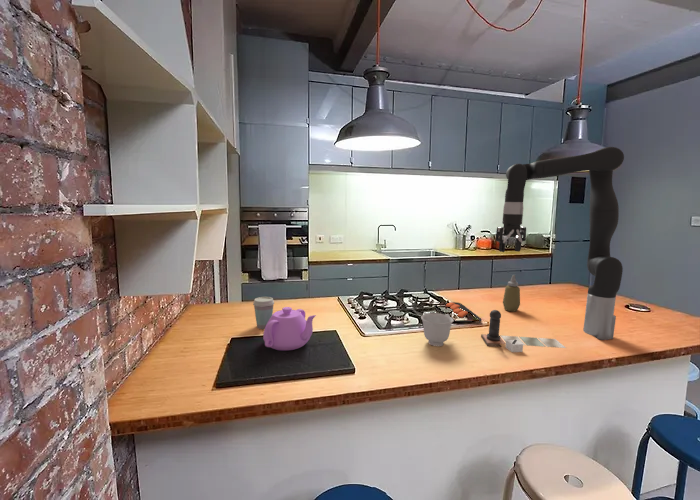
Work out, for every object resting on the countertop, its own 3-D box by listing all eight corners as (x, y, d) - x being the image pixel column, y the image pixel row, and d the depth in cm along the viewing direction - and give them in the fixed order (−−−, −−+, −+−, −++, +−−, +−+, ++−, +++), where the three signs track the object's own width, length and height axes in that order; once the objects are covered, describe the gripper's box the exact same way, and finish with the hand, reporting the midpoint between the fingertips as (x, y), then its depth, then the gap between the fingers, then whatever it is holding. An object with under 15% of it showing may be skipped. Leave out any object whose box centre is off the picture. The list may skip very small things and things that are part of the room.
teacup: (461, 341, 132) (463, 316, 130) (441, 353, 121) (443, 326, 120) (434, 332, 140) (435, 309, 139) (413, 342, 129) (414, 317, 128)
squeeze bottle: (503, 306, 178) (506, 272, 176) (520, 309, 173) (524, 275, 171) (500, 310, 172) (503, 275, 169) (517, 313, 167) (521, 277, 164)
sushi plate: (484, 325, 152) (484, 316, 151) (417, 325, 150) (418, 317, 149) (459, 305, 180) (459, 298, 180) (403, 305, 179) (403, 298, 178)
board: (555, 341, 133) (555, 338, 133) (566, 351, 124) (567, 348, 124) (481, 336, 137) (481, 333, 136) (487, 346, 128) (487, 342, 128)
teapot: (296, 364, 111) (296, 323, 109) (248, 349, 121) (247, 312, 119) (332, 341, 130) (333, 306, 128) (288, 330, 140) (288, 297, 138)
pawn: (498, 336, 134) (500, 308, 132) (501, 341, 129) (504, 312, 127) (485, 335, 134) (487, 307, 133) (488, 340, 130) (490, 311, 128)
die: (515, 350, 125) (516, 338, 124) (522, 354, 121) (523, 343, 120) (505, 350, 124) (506, 339, 123) (511, 355, 120) (512, 343, 119)
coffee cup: (278, 326, 143) (278, 299, 142) (260, 332, 137) (260, 303, 136) (267, 321, 149) (266, 295, 148) (249, 326, 143) (249, 299, 141)
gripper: (506, 213, 136) (503, 253, 139) (533, 213, 141) (529, 252, 144) (492, 212, 143) (490, 250, 146) (518, 213, 148) (515, 249, 151)
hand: (509, 251), depth 145 cm, fingers open, 8 cm apart
